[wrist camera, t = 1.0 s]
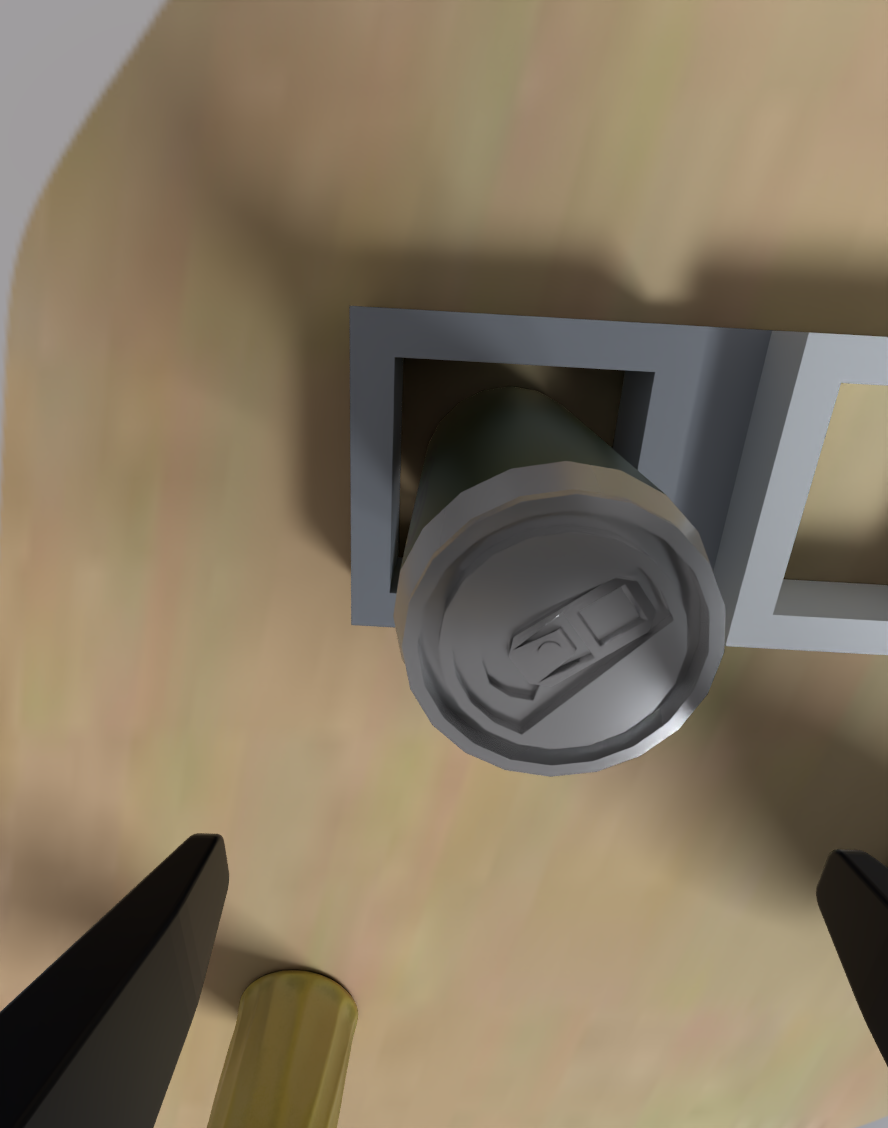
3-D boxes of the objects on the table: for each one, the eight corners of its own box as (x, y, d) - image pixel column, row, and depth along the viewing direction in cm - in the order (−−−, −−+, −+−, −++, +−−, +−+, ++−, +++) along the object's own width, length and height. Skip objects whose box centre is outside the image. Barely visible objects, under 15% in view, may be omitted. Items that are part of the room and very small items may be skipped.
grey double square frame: (1061, 347, 19) (1167, 353, 16) (947, 619, 22) (1017, 662, 19) (365, 306, 18) (349, 305, 16) (364, 585, 22) (351, 624, 19)
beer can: (529, 348, 19) (633, 396, 8) (614, 485, 21) (800, 686, 9) (392, 447, 20) (314, 611, 9) (483, 569, 22) (511, 833, 11)
